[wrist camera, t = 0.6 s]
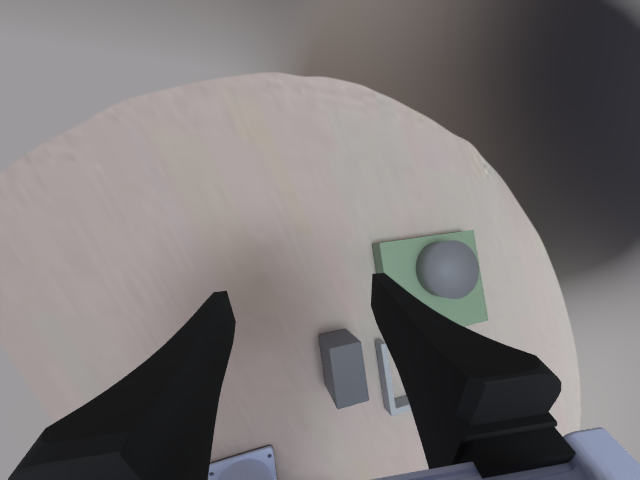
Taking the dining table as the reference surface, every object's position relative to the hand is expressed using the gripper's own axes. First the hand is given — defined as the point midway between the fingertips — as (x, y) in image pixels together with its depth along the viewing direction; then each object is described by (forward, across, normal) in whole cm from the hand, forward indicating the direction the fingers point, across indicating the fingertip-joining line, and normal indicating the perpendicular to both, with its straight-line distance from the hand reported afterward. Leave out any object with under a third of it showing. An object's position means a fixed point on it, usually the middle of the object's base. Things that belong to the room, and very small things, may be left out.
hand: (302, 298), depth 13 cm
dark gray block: (+14, -3, +23) cm, 27 cm away
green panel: (+18, -18, +21) cm, 33 cm away
